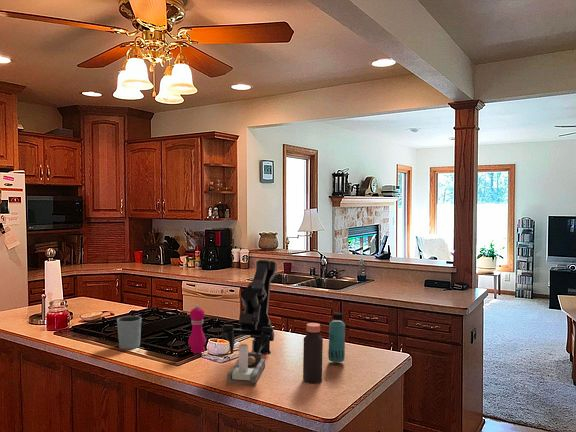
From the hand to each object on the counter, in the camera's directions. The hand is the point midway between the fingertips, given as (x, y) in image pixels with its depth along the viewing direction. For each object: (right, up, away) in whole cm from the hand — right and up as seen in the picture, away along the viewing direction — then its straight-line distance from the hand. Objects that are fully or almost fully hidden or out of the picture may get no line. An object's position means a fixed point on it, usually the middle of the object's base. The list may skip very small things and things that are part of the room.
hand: (244, 354), depth 170 cm
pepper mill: (-22, -8, +30) cm, 38 cm away
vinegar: (+24, -10, +2) cm, 26 cm away
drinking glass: (-52, -7, +37) cm, 65 cm away
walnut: (+1, -7, +11) cm, 14 cm away
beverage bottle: (+34, -9, +19) cm, 41 cm away
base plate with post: (+1, -9, +5) cm, 11 cm away
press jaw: (0, -8, -1) cm, 8 cm away
